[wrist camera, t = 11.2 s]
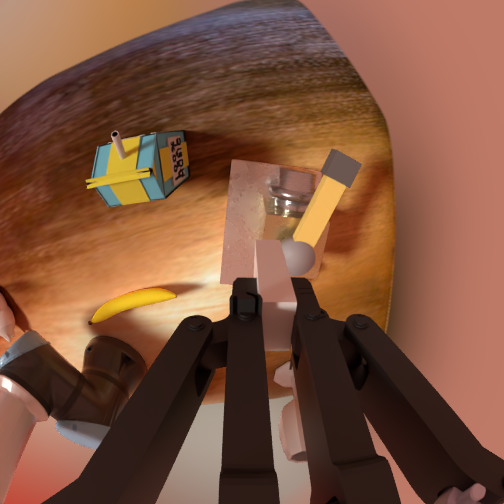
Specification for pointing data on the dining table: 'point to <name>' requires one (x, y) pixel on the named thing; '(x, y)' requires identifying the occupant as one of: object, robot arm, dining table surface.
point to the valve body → (265, 213)
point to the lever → (319, 212)
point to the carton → (140, 167)
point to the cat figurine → (6, 320)
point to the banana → (131, 302)
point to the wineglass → (290, 418)
